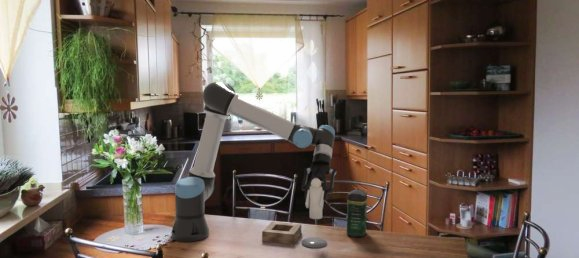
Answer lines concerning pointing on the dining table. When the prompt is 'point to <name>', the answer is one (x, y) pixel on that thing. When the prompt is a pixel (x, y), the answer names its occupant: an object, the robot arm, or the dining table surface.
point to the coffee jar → (356, 213)
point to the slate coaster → (314, 242)
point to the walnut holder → (281, 232)
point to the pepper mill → (315, 199)
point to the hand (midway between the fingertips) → (314, 206)
